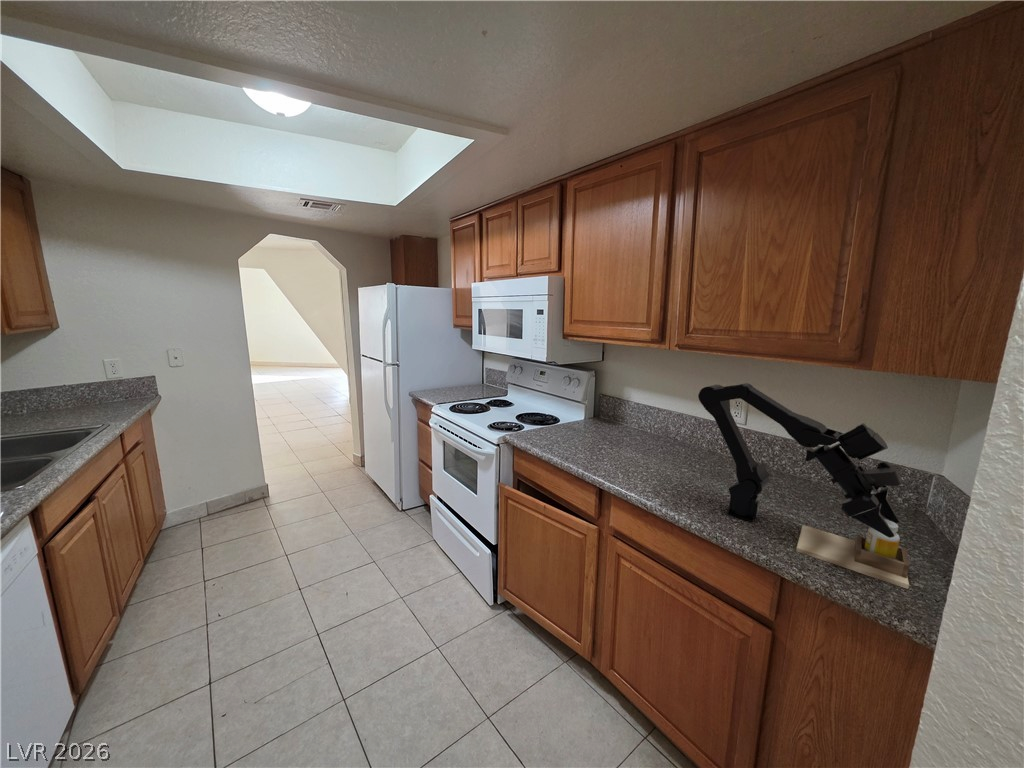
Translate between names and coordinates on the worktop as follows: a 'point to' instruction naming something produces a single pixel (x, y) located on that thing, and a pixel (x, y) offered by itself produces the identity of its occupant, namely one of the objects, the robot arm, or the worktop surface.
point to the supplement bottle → (883, 541)
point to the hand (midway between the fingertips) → (894, 529)
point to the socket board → (854, 555)
